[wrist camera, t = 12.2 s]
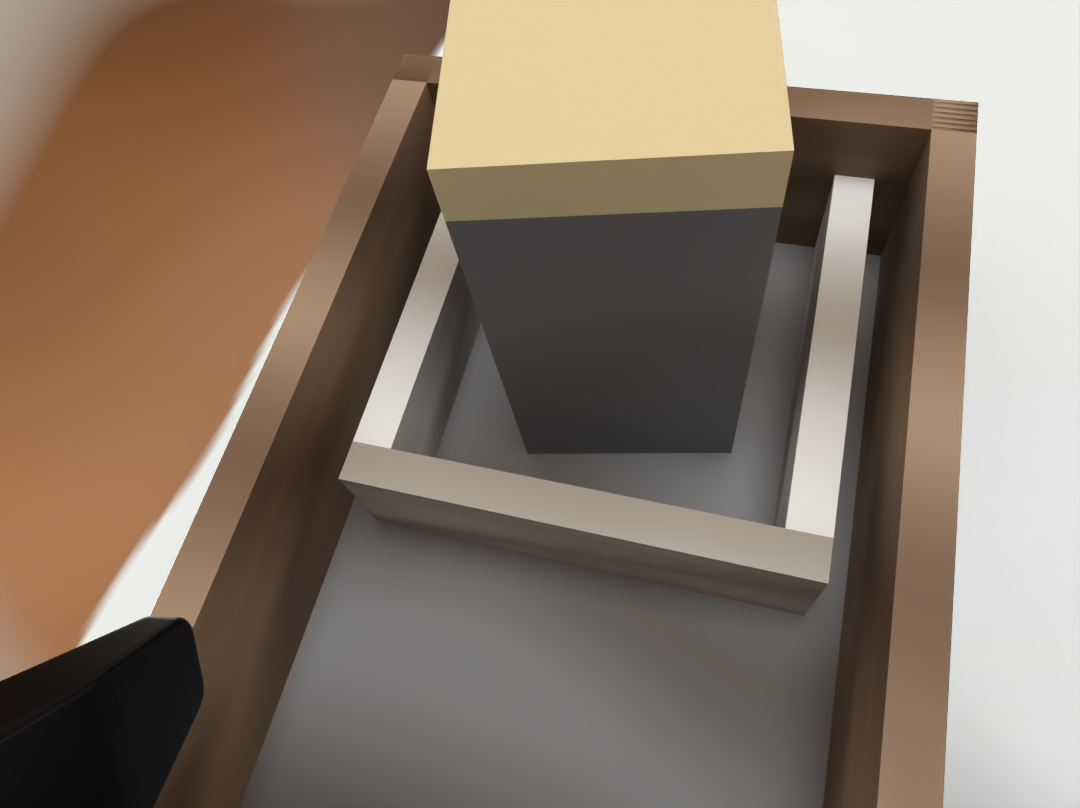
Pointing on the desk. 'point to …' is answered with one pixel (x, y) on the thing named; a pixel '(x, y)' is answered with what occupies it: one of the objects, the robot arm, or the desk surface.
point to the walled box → (595, 521)
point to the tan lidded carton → (615, 208)
